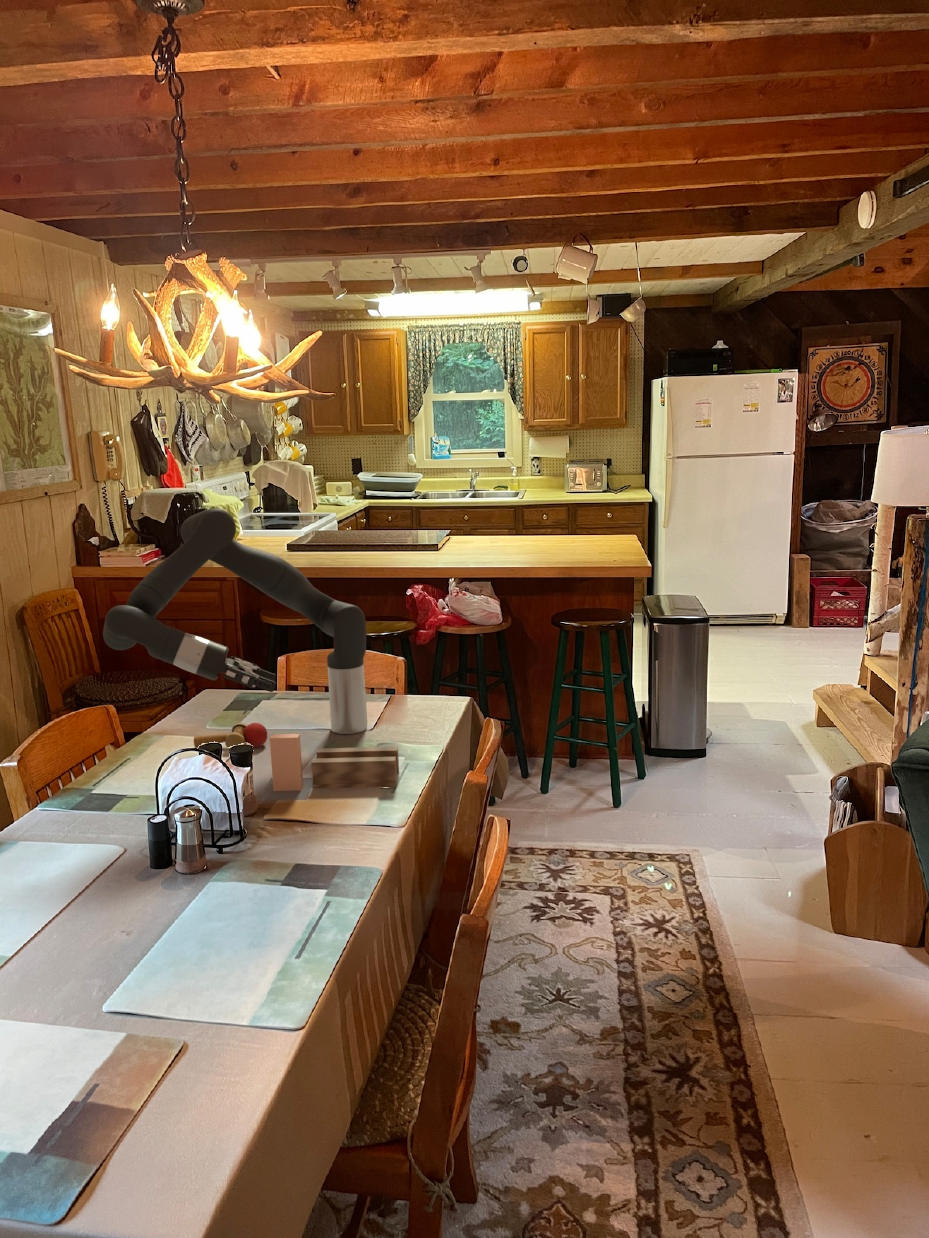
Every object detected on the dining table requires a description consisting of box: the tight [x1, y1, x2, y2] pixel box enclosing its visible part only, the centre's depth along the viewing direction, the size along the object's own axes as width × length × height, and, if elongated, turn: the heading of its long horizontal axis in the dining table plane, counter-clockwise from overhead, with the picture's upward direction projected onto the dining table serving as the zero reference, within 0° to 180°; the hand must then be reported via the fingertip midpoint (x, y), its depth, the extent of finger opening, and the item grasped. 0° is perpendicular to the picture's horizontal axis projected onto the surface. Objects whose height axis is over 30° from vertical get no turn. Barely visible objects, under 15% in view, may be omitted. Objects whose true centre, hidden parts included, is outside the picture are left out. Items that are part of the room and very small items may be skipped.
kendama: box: [193, 722, 268, 748], centre depth 224 cm, size 8×6×18 cm
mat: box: [259, 777, 313, 802], centre depth 197 cm, size 10×12×1 cm
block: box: [269, 733, 304, 791], centre depth 195 cm, size 6×2×12 cm, turn 90°
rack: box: [311, 746, 400, 789], centre depth 200 cm, size 18×9×6 cm, turn 90°
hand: (274, 683), depth 192 cm, fingers open, 8 cm apart
